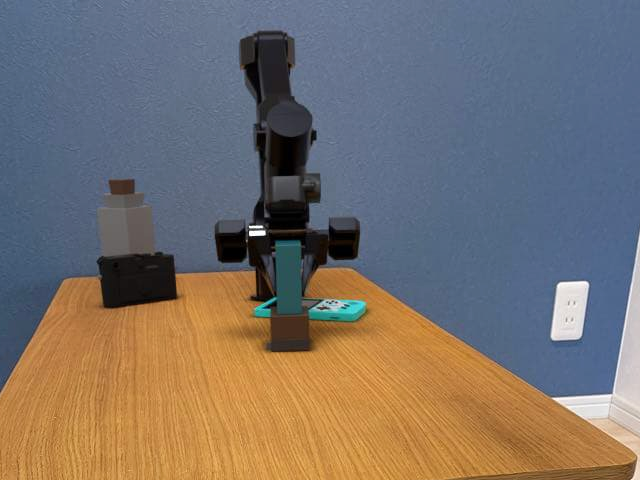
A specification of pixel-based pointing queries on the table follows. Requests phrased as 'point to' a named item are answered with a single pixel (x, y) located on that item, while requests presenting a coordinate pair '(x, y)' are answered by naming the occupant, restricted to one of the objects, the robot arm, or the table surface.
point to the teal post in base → (289, 301)
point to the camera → (137, 279)
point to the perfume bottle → (125, 221)
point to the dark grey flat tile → (268, 346)
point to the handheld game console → (322, 309)
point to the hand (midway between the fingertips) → (289, 295)
